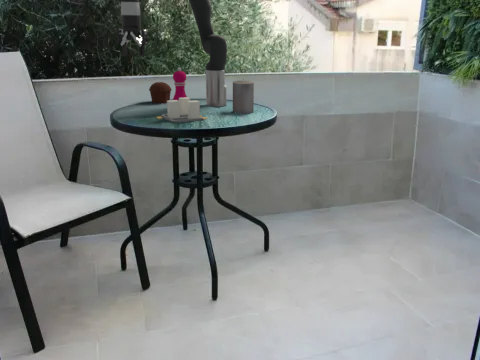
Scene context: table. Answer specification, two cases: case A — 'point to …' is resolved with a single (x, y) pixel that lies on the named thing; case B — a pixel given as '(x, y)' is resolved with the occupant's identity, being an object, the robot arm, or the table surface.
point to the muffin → (160, 92)
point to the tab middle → (173, 109)
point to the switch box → (182, 118)
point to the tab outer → (193, 109)
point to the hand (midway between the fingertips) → (133, 55)
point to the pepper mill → (179, 84)
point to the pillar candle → (243, 96)
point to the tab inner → (183, 105)
